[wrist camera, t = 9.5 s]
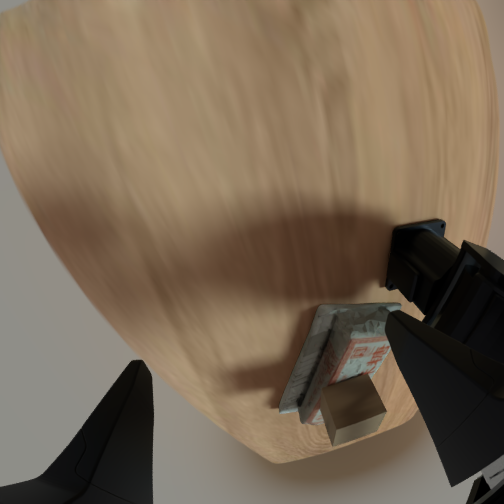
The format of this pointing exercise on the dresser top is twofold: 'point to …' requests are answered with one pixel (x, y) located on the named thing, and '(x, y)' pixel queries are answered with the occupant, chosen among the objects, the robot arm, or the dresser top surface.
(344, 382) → the walnut block
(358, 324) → the packaged product
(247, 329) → the dresser top surface
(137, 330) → the dresser top surface
